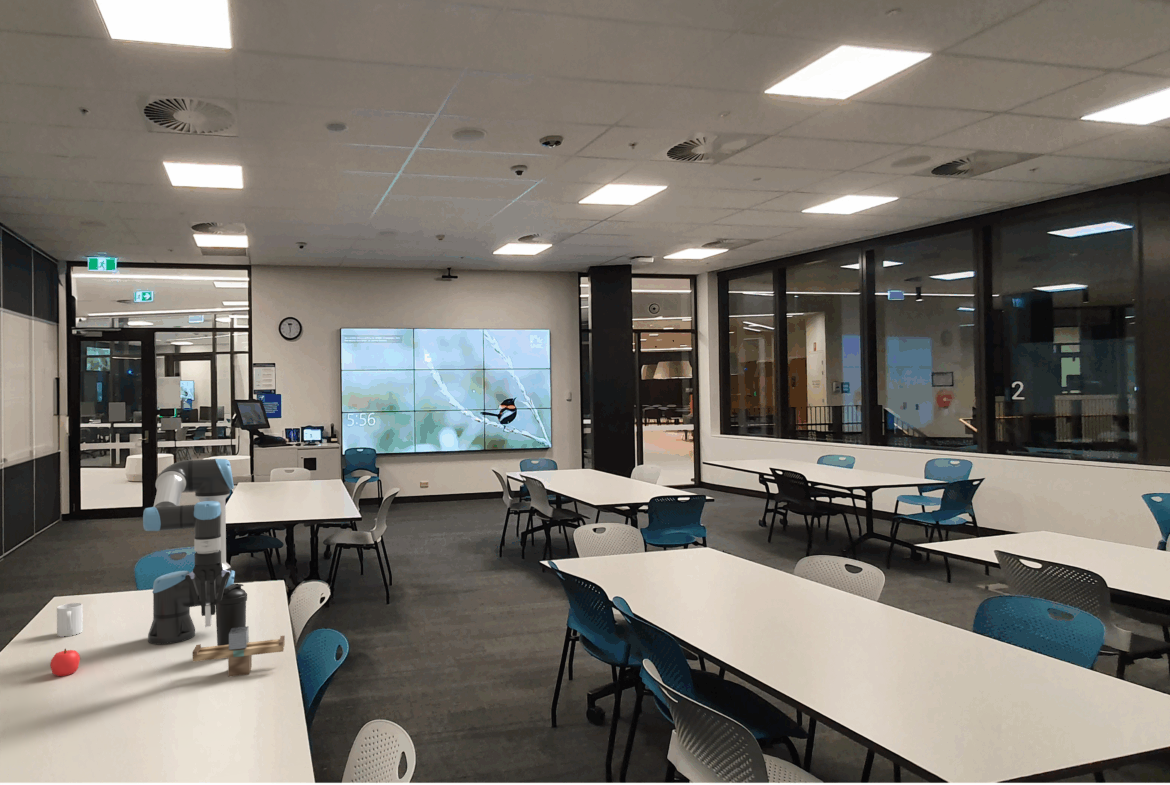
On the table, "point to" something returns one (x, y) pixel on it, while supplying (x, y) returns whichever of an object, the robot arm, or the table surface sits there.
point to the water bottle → (230, 612)
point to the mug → (69, 619)
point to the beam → (238, 654)
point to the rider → (238, 638)
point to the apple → (65, 662)
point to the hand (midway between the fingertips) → (208, 625)
